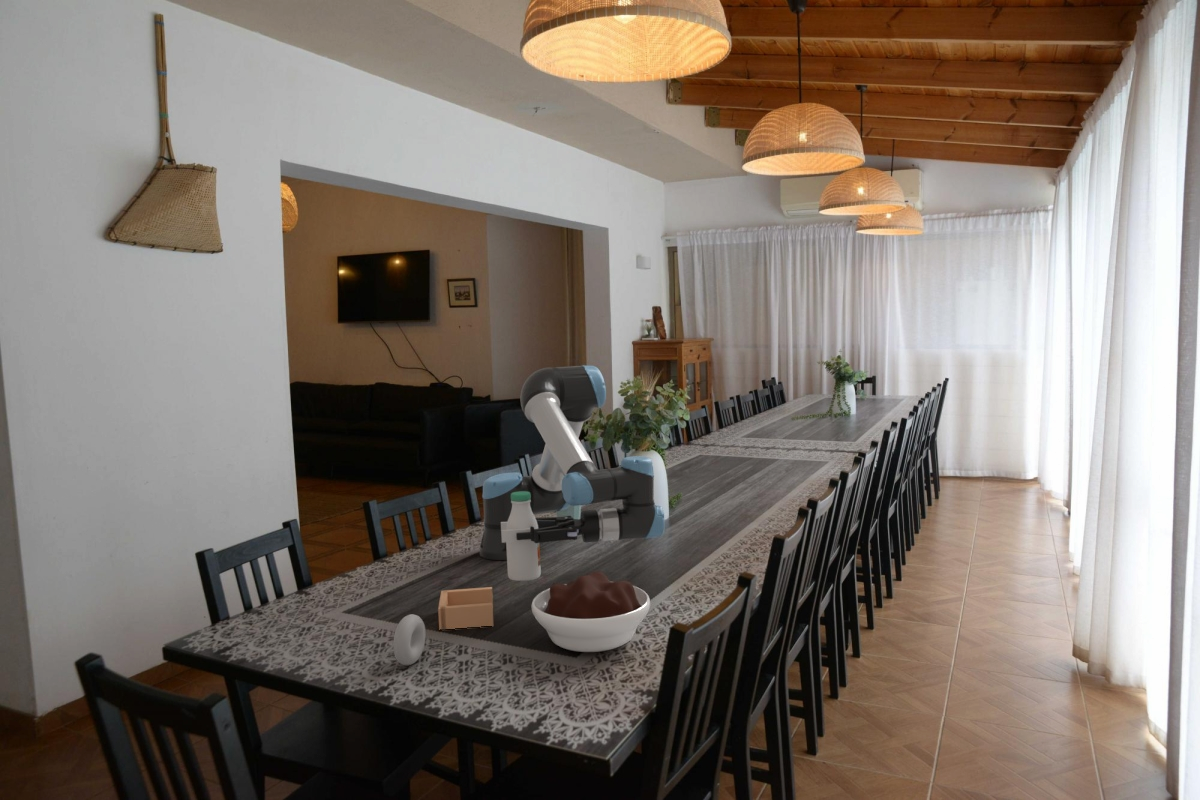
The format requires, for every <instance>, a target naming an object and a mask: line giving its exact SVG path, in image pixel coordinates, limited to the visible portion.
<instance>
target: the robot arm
mask: <svg viewBox="0 0 1200 800" xmlns="http://www.w3.org/2000/svg"><path fill="white" fill-rule="evenodd" d="M519 399H520V406H521V410H522V412H523V413H524V416H525V417H526V419H527V420H528V421H529V422H531V423H534V425H535V427H536V429H537V431H538V432H539V434H540V435H541V438H542V439H543V441H544V443H545V444H544V449H543V452H542V455H541V457H540V459H541V460H540V462H539V463H538V464H536V465H535V466H534V467H533V469H532V470H531V471H532V472H531V474H530V475H526V476H523V474H521V472H518V471H517V472H516V471H515V472H512V471H511V472H503V473H499V474H495V475H492V476H490V477H488V478H487V479H485V480H484V481H483V484H482V497H481V498H482V503H483V504H482V505H483V522H484V523H483V524H484V529H483V534H482V538H481V541H480V544H479V556H480V557H481V558H483V559H486V560H493V561H507V547H506V542H519V541H530V539H531V541H534V543H539V544H540V543H550V542H558V541H560V542H561V541H572V540H574V541H575V540H578V536H581V539H582V542H584V543H586V544H587V543H598V542H599V541H602V542H609V543H610V544H614V541H622V540H623V541H625V540H641V539H642V540H643V539H644V540H646V539H652V538H653V539H655V538H661V537H662V536H663V534H665V533H664V532H665V529H666V528H665V527H666V519H665V512H664V509H663V507H662V506H661V505H656V503H655V499H654V492H655V491H654V486H655V485H654V481H655V480H654V477H655V475H654V466H653V461H652V459H651V458H650V457H647V456H642V455H640V456H639V455H635V456H627V457H623V458H621V460H620V465H619V467H613V468H612V467H611V468H603V469H602V468H601V469H598V468H597V467H596V465H595V463H594V462H593V460H592V459H591V457H590V455H589V453H588V452H587V450H586V448H585V447H584V445H583V444H582V441H580V439H579V437H580V435H581V431H582V428H583V425H584V422H587V421H588V420H590V419H591V417H592V415H593V411H594V409H599V408H602V407H604V406H605V403H606V400H607V388H606V383H605V379H604V376H603V374H602V372H601V371H600V369H599V368H598V367H596V366H595V365H585V364H581V365H573V366H572V365H571V366H557V367H556V366H555V367H543V368H541V369H538V370H535V371H534V372H533V373H531V374H530V375H529V376H528V377H527V379H526V380H525V381H524V383H523V385H522V388H521V391H520V397H519ZM519 491H526V492H530V494H531V499H530V500H531V502H530V507H531V510H532V512H533V514H534V516H535V515H540V514H541V515H542V514H548V513H549V514H550V513H556V512H558V511H561V510H565V509H567V508H568V507H569V506H570V505H572V506H576V505H581V506H588V505H593V504H600V503H607V502H613V501H614V502H615V501H620V500H622V507H618V508H616V507H614V508H613V507H612V508H600V509H599V510H597V509H587V510H582V511H581V513H580V519H573V518H572V517H571V516H564V517H557V516H549V517H547V516H546V517H544V516H543V517H542V516H541V517H535V518H536V521H537V524H538V529H534V527H532V526H531V527H530V528H527V529H512V530H506V526H507V521H508V519H509V516H510V513H511V510H512V503H511V493H513V492H519Z"/></svg>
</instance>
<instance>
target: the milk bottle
mask: <svg viewBox="0 0 1200 800" xmlns="http://www.w3.org/2000/svg"><path fill="white" fill-rule="evenodd" d="M530 499H531V494H530V492H526V491H519V492H513V493H511V503H512V510H511V513H510V516H509V519H508V521H507V526H506V530H512V529H527V528H530V527H531V526H532V527H534V529H538V524H537V521H536V518H537V517H536V516H535V515H534V514H533V512H532V510H531V507H530V502H531V500H530ZM540 545H541V544H540V543H534V541H531V539H530V541H519V542H506V547H507V560H506V565H507V567H506V568H507V577H508V578H509V579H510V580H511V581H516V582H517V581H518V582H519V581H520V582H524V581H532V580H536V579H538V578H539V577H540V576H541V573H542V569H541V546H540Z"/></svg>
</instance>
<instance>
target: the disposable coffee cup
mask: <svg viewBox="0 0 1200 800" xmlns="http://www.w3.org/2000/svg"><path fill="white" fill-rule="evenodd" d="M581 510H582V505H576V506H572V505H570V506H569V507H568V508H567V509H565V510H561V511H558V512H555V514H556V517H564V516H571V517H572V518H573V519H581V512H582V511H581Z"/></svg>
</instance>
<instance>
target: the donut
mask: <svg viewBox="0 0 1200 800" xmlns="http://www.w3.org/2000/svg"><path fill="white" fill-rule="evenodd" d="M426 632H427V631H426V625H425V623H424V621H423V619H422V618H421V617H420V616H419V615H417V614H413V613H412V614H410V613H409V614H407V615H406V616H404V617H403V618H402V619H400V621H399V622H398V624H397V627H396V629H395V632H394V636H393V644H392V645H393V646H392V648H393V655H394V657H395V660H396V661H397V662H398V663H399V665H400V664H401V665H403V666H411V665H413V664H415V663H416V662H417V661H418V660H419V659H420V657H421V655H422V653H423V651H424V648H425V643H426Z"/></svg>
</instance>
